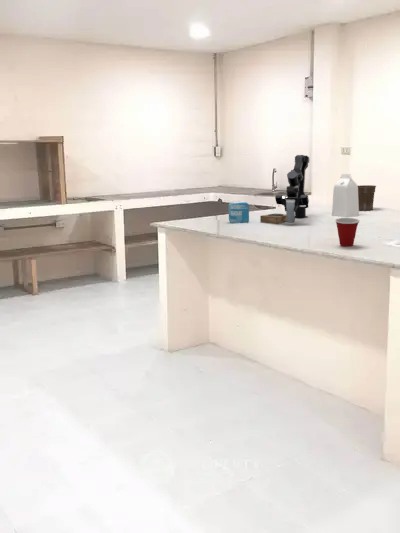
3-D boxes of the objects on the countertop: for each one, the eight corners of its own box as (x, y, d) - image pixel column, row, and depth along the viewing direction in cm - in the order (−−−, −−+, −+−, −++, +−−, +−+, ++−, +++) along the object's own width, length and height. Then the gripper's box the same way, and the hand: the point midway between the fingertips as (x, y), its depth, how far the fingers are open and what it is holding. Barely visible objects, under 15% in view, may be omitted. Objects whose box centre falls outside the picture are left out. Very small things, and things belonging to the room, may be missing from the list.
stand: (275, 219, 352) (275, 212, 351) (291, 221, 342) (291, 214, 341) (260, 222, 344) (260, 214, 343) (276, 224, 334) (276, 216, 333)
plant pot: (347, 209, 391) (347, 185, 388) (369, 208, 393) (370, 184, 389) (356, 212, 375) (356, 187, 372) (379, 210, 377) (380, 186, 373)
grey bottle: (290, 221, 331) (290, 199, 329) (296, 222, 328) (296, 199, 325) (284, 222, 328) (284, 199, 326) (290, 223, 325) (290, 200, 322)
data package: (229, 223, 345) (228, 203, 343) (228, 222, 350) (228, 202, 347) (249, 222, 345) (248, 202, 343) (248, 221, 350) (247, 202, 347)
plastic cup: (338, 248, 254) (339, 221, 251) (331, 244, 264) (331, 218, 262) (362, 247, 254) (363, 220, 252) (354, 242, 265) (355, 217, 262)
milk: (358, 215, 358) (359, 173, 352) (346, 217, 351) (347, 174, 346) (344, 214, 367) (344, 173, 362) (331, 215, 361) (332, 174, 356)
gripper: (275, 181, 330) (271, 202, 322) (307, 180, 323) (304, 202, 316) (278, 193, 339) (274, 214, 331) (310, 193, 332) (307, 214, 325)
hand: (290, 211), depth 325 cm, fingers closed on grey bottle, 5 cm apart
